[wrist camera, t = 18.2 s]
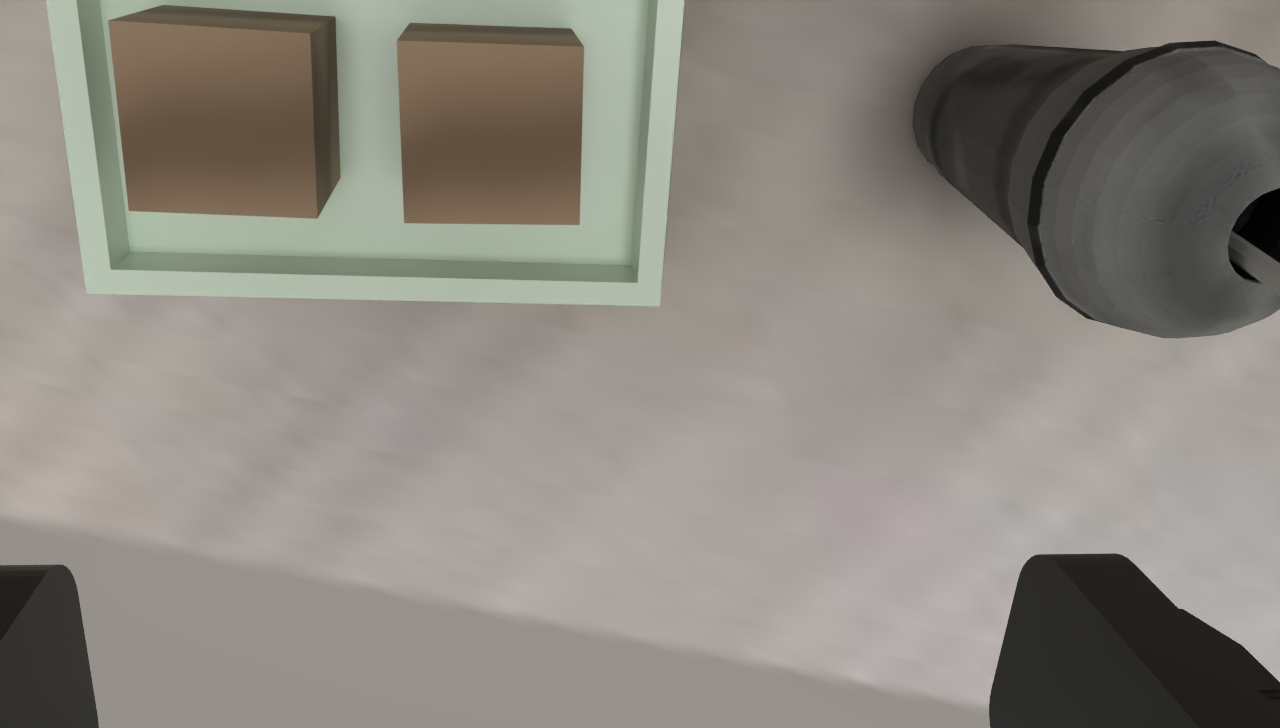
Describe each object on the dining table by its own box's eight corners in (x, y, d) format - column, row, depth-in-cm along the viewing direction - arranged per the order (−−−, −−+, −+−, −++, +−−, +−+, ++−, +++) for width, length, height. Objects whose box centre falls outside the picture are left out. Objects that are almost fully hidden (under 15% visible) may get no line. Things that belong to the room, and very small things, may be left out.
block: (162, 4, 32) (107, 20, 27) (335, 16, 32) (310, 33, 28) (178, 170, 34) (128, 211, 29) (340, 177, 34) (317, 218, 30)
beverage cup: (1115, 58, 37) (1730, 202, 19) (1004, 245, 39) (1456, 537, 21) (942, -36, 35) (1441, 21, 17) (836, 166, 37) (1172, 413, 19)
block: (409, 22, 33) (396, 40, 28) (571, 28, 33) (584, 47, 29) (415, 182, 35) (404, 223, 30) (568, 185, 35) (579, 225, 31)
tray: (62, -130, 31) (27, -133, 28) (677, -83, 33) (690, -83, 31) (112, 268, 35) (86, 293, 33) (649, 282, 38) (659, 306, 35)
